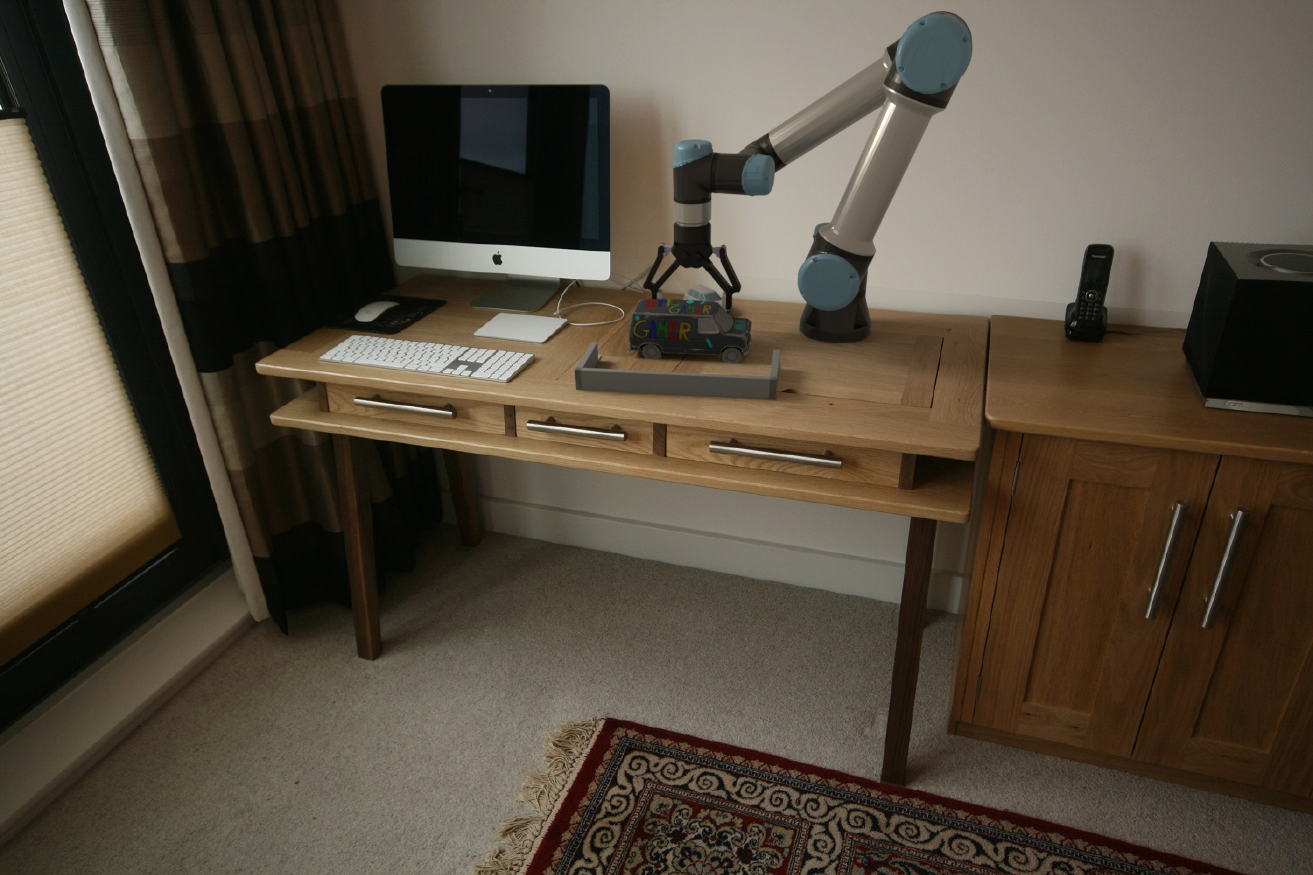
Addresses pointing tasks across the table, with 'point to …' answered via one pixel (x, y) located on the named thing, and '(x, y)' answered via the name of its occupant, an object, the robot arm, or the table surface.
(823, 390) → the table surface
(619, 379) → the bay
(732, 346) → the toy van
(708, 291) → the toy car
